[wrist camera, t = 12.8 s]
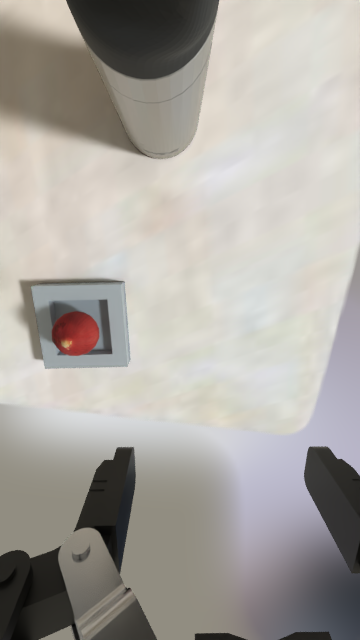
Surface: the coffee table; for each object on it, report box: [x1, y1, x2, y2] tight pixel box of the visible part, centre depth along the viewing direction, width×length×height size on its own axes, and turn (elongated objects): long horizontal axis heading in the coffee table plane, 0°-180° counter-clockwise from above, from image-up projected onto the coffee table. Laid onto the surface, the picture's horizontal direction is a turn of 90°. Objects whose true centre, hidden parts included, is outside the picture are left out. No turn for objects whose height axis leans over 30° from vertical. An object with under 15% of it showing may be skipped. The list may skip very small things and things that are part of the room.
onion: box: [52, 311, 99, 356], centre depth 35 cm, size 6×6×8 cm
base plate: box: [31, 282, 130, 369], centre depth 39 cm, size 12×12×2 cm
